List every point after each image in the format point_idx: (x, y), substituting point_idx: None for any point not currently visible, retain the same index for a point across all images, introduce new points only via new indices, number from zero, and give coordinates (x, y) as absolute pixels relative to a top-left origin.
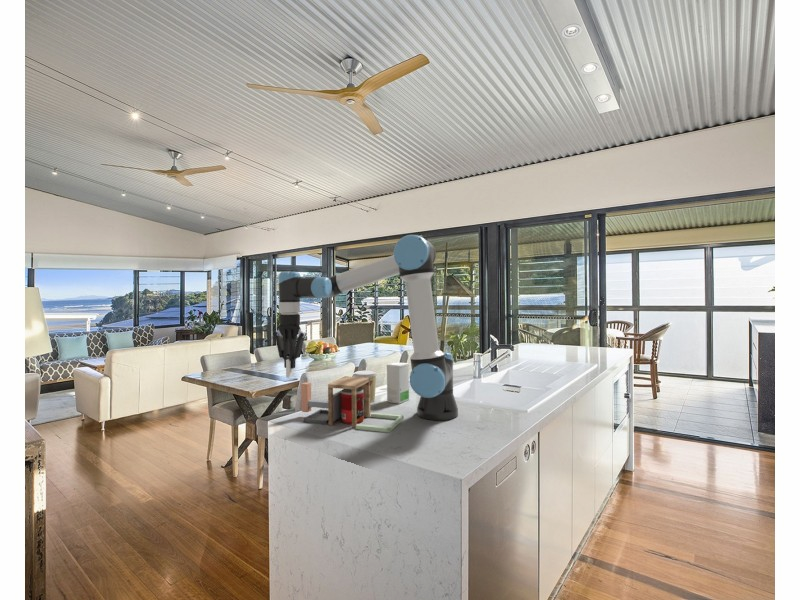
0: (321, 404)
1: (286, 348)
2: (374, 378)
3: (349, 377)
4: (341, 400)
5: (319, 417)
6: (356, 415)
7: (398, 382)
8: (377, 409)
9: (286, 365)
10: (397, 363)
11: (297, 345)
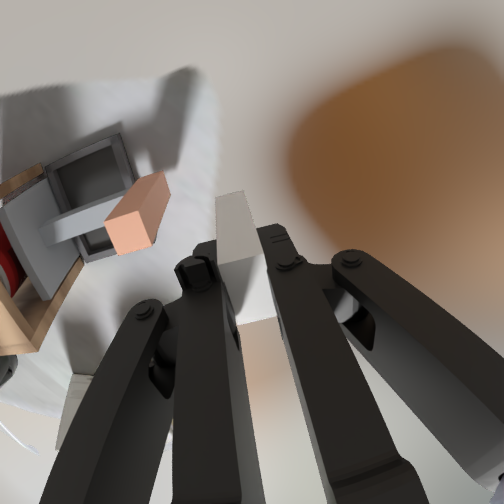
0: (78, 209)
1: (294, 367)
2: None
3: (12, 342)
4: (1, 235)
5: (107, 193)
6: None
7: (63, 414)
8: (66, 330)
9: (250, 227)
10: None
11: (83, 442)
